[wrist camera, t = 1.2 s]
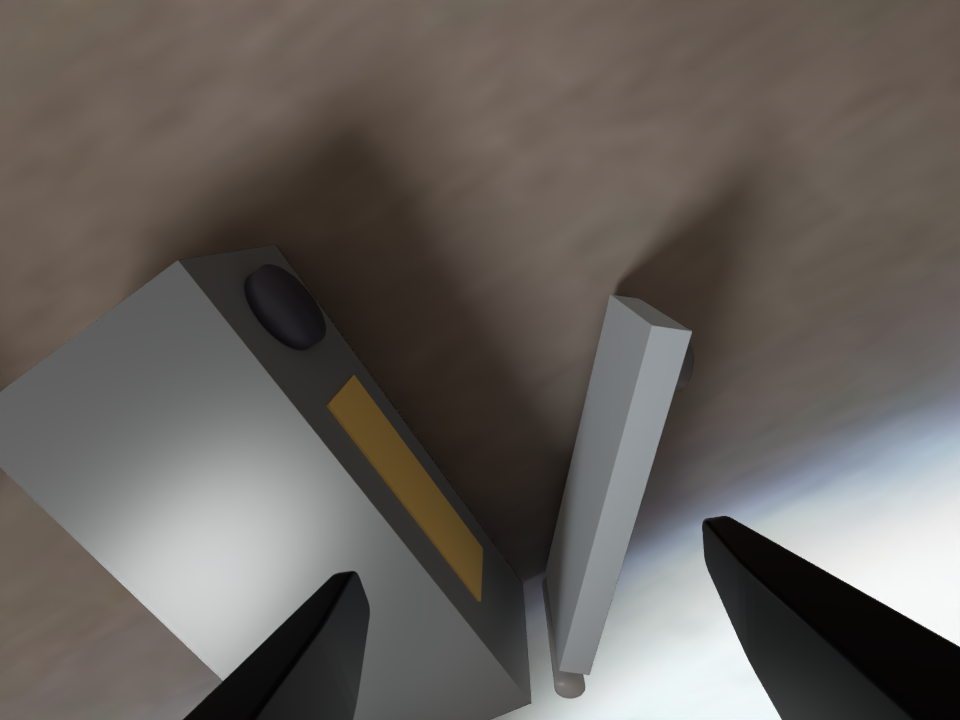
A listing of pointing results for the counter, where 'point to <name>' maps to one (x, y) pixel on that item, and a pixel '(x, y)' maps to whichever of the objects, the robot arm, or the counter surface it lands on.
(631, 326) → the side door
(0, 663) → the counter surface
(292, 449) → the gray rectangular box
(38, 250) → the counter surface
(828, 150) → the counter surface
